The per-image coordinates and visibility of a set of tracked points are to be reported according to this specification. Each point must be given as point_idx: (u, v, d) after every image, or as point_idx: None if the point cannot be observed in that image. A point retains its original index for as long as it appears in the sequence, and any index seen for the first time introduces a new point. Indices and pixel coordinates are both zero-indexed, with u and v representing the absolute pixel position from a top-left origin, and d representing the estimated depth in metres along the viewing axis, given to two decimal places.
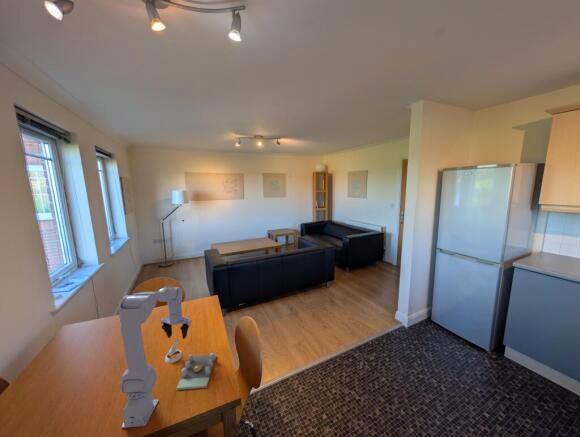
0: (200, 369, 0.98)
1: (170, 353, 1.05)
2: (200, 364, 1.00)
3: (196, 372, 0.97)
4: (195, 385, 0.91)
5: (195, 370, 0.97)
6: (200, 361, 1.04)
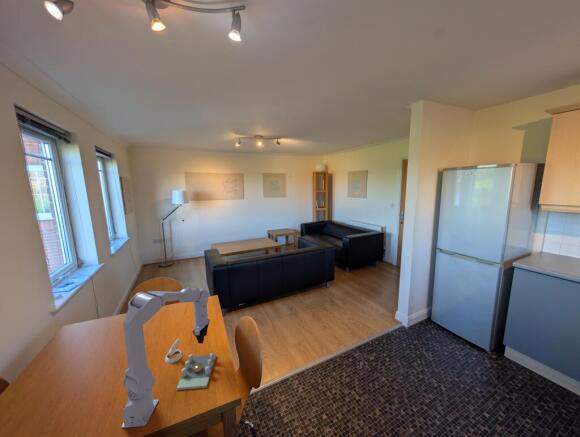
0: (200, 369, 0.98)
1: (170, 353, 1.05)
2: (200, 364, 1.00)
3: (196, 372, 0.97)
4: (195, 385, 0.91)
5: (195, 370, 0.97)
6: (200, 361, 1.04)
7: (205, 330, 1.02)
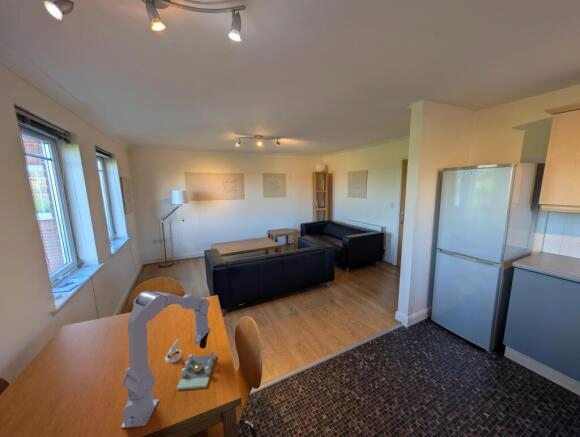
0: (200, 369, 0.98)
1: (170, 353, 1.05)
2: (200, 364, 1.00)
3: (196, 372, 0.97)
4: (195, 385, 0.91)
5: (195, 370, 0.97)
6: (200, 361, 1.04)
7: (207, 335, 1.05)
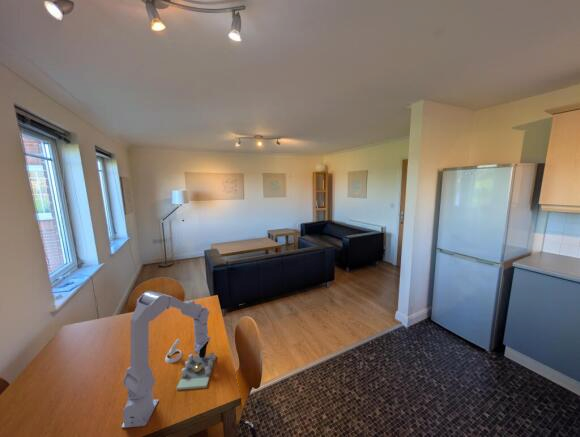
0: (200, 369, 0.98)
1: (170, 353, 1.05)
2: (200, 364, 1.00)
3: (196, 372, 0.97)
4: (195, 385, 0.91)
5: (195, 370, 0.97)
6: (200, 361, 1.04)
7: (206, 345, 1.04)
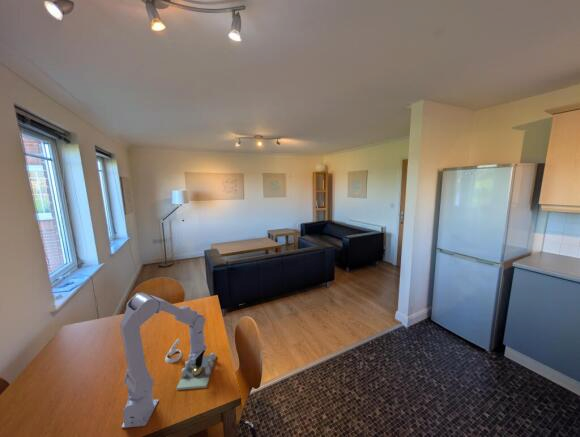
0: (199, 372, 0.96)
1: (170, 353, 1.05)
2: (199, 366, 0.98)
3: (195, 375, 0.96)
4: (195, 385, 0.91)
5: (194, 373, 0.96)
6: None
7: (203, 353, 0.99)
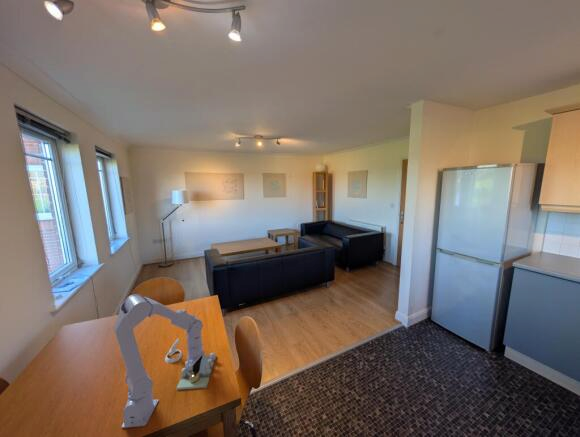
0: (197, 378, 0.93)
1: (170, 353, 1.05)
2: (197, 373, 0.95)
3: (193, 382, 0.92)
4: (195, 385, 0.91)
5: (192, 380, 0.92)
6: None
7: (201, 359, 0.95)
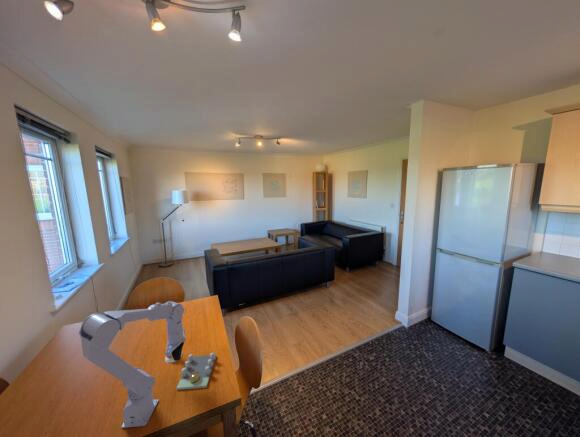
0: (197, 378, 0.93)
1: None
2: (197, 373, 0.95)
3: (193, 382, 0.92)
4: (195, 385, 0.91)
5: (192, 380, 0.92)
6: (200, 361, 1.04)
7: (181, 346, 0.92)
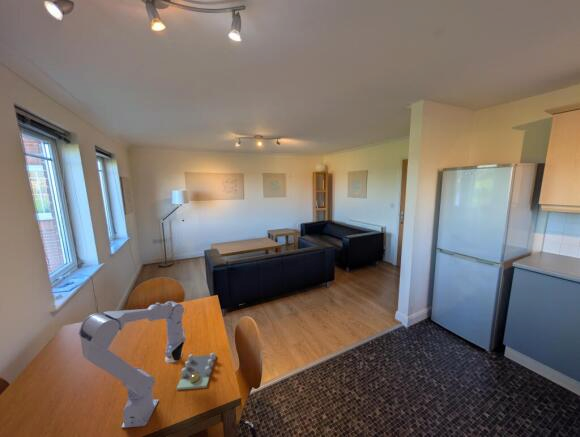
0: (197, 378, 0.93)
1: None
2: (197, 373, 0.95)
3: (193, 382, 0.92)
4: (195, 385, 0.91)
5: (192, 380, 0.92)
6: (200, 361, 1.04)
7: (181, 346, 0.92)
